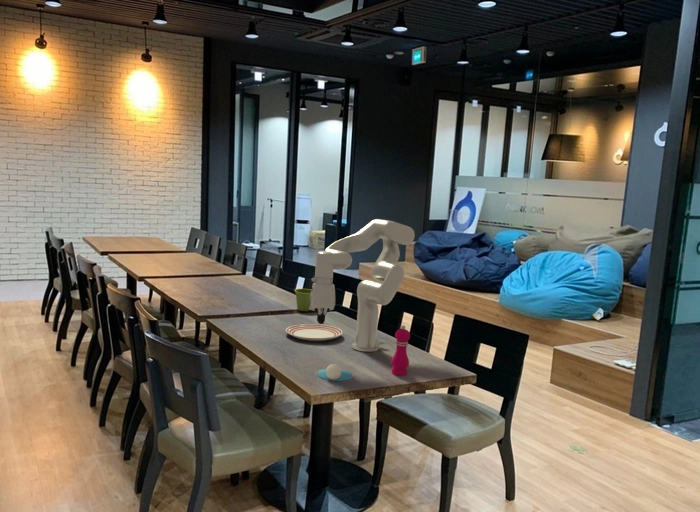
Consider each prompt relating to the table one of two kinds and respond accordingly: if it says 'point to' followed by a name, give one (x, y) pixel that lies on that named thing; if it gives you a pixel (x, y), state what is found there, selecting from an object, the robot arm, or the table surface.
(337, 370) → the ball
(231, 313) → the table surface
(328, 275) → the robot arm
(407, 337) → the pepper mill
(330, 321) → the table surface
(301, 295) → the plant pot
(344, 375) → the disc
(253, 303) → the table surface
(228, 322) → the table surface
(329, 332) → the dinner plate
